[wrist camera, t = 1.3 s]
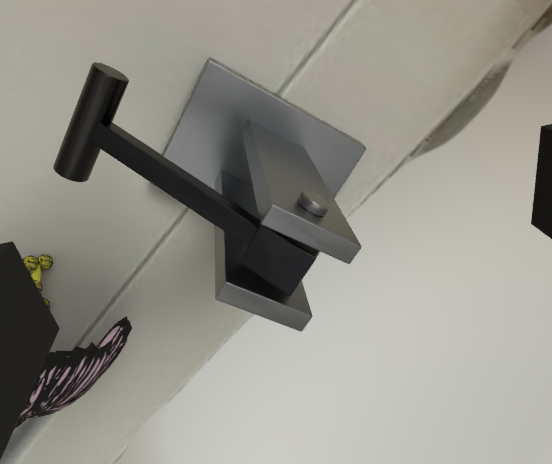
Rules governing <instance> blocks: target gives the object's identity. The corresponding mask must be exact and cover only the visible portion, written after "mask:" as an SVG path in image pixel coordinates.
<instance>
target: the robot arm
mask: <svg viewBox="0 0 552 464" xmlns="http://www.w3.org/2000/svg"><path fill="white" fill-rule="evenodd" d="M531 224H532V225H534V226H535V227H536V228H538V229H539V230H540V231H542V232H543V233H544V234H546V235H547V236H549V237H550V238H551V239H552V124H550V125H545V126H541V133H540V144H539V153H538V162H537V172H536V182H535V193H534V202H533V211H532V221H531ZM58 331H59V327H58V325H57V323H56V321H55V319H54V317H53V316H52V314H51V312H50V310H49V308H48V306H47V304H46V303H45V301H44V299H43V297H42V295H41V293H40V291H39V289H38V288H37V286H36V284H35V282H34V280H33V278H32V276H31V275H30V273H29V271H28V269H27V267H26V265H25V263H24V261H23V260H22V258H21V256H20V254H19V252H18V250H17V248H16V247H15V245H14V243H13V242H8V243H3V244H0V459H1V457H2V455H3V453H4V450H5V448H6V446H7V444H8V441H9V439H10V437H11V435H12V433H13V430H14V428H15V426H16V424H17V422H18V419H19V417H20V415H21V413H22V410H23V408H24V406H25V404H26V402H27V399H28V397H29V395H30V393H31V391H32V388H33V386H34V384H35V382H36V379H37V377H38V375H39V373H40V371H41V368H42V366H43V364H44V362H45V360H46V357H47V355H48V353H49V351H50V348H51V346H52V344H53V342H54V340H55V337H56V335H57V333H58Z"/></svg>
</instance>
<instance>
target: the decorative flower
mask: <svg viewBox="0 0 552 464" xmlns="http://www.w3.org/2000/svg"><path fill="white" fill-rule="evenodd" d="M23 261H24V263H25V265H26V267H27V269H28V271H32V273H31V276H32V278H33V280H34V282H35V284H36V286H37V288H38V289H39V291H40V292H41V290H42V285H41V283H40V279H41V271H40V269H41V270H46V269H48V268H49V267H51V266H52V264H53V263H52V258H51V257H50V256H48V255H41V256H40V257H38V259H37V258H36V257H34V256H28V257H26V258H24V259H23ZM43 299H44V298H43ZM44 301H45V303H46V304H47V306H48V308H50V302H49V301H48V300H46V299H44ZM131 329H132V327H131V324H130V322H129V320H127V317H125V319H124V318H123V319H121V320H120V321H118V322H117V323H116V324H115V325H114V326H113V327H112V328H111V329H110V330H109V332H108V333H107V334H106V335H105V336H104V338H103V339H102V340H101V341H100V342H99V343H98V344H97V345H96V346H95V345H94V344H93V343H91V344H90V345H89V347H88V348H86V349H84V348H80V347H76V348H75V349H74V351H56V352H55V353H54V352H51V353H48V355H47V357H46V360H45V362H44V364H43V366H42V368H41V371H40V373H39V375H38V377H37V379H36V382H35V384H34V386H33V388H32V391H31V393H30V395H29V397H28V399H27V402H26V404H25V406H24V408H23V410H22V413H21V415H20V417H19V419H18V422H17V424H16V426H15V428H17V427H18V426H19V425H20V424H21V423H23V422H24V421H25V420H26V418H32V417H33V418H35V417H41V416H44V415H49V414H52V413H54V412H57V411H59V410H61V409H63V408H64V407H66V406H68V405H70V404H72V403H73V402H75V401H76V400H77V399H79V398H80V397H81V396H83V395H84V394H85V393H86V392H87V391H88V390H89V389H90V388H91V387H92V386H93V385H94V383H95V382H96V381H97V379H98V378H99V377H100V376H101V375H102V374H103V373H104V372H105V371H106V370H107V369H108V368H109V367H110V366H111V364H112V363H113V361H114V360H115V359H116V357H117V356H118V355H119V353H120V351H121V350H122V348H123V347H124V345H125V343H126V341H127V337H128V335H129V333H130V331H131Z"/></svg>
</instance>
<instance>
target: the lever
mask: <svg viewBox="0 0 552 464" xmlns="http://www.w3.org/2000/svg"><path fill="white" fill-rule="evenodd" d="M128 83H129V79H128V78H127V77H126V76H125V75H123V74H122V73H121V72H119V71H117V70H115V69H113V68H111V67H109V66H107V65H104V64H101V63H93V64H92V66H91V68H90V71H89V74H88V76H87V79H86V82H85V84H84V87H83V90H82V92H81V95H80V97H79V100H78V103H77V105H76V108H75V111H74V113H73V116H72V118H71V121H70V124H69V126H68V129H67V132H66V134H65V137H64V140H63V142H62V145H61V147H60V150H59V153H58V155H57V158H56V161H55V163H54V170H55V171H56V172H57V173H58V174H59V175H60V176H62V177H64V178H66V179H69V180H72V181H76V182H85V181H87V180H88V179H89V176H90V174H91V171H92V169H93V167H94V164H95V162H96V159H97V157H98V155H99V152H100V150H101V149H102V150H103V151H105V152H106V153H108V154H109V155H111V156H112V157H114V158H115V159H117V160H118V161H120V162H121V163H123V164H124V165H126V166H127V167H129V168H130V169H132V170H133V171H135V172H136V173H138V174H139V175H141V176H142V177H144V178H145V179H147V180H148V181H150V182H151V183H153V184H154V185H156V186H157V187H159V188H160V189H162V190H163V191H165V192H166V193H168V194H169V195H171V196H172V197H174V198H175V199H177V200H178V201H180V202H181V203H183V204H184V205H186V206H187V207H189V208H190V209H192V210H193V211H195V212H196V213H198V214H199V215H201V216H202V217H204V218H205V219H207V220H208V221H210V222H211V223H213V224H214V225H216V226H217V227H219V228H220V229H222V230H223V231H225V232H226V233H228V234H229V235H231V236H232V237H234V238H235V239H237V240H238V241H240V242H241V243H243V244H244V245H246V246H247V248H246V249H245V251H244V253H243V254H242V256H241V258H240V259H239V263H241V264H242V265H244V266H245V267H247V268H248V269H250V270H251V271H253V272H254V273H256V274H257V275H259V276H260V277H262V278H263V279H265V280H266V281H268V282H269V283H271V284H272V285H274V286H275V287H277V288H278V289H280V290H281V291H283V292H284V293H286V294H287V295H289V296H291V295H292V294H293V292H294V291H295V289H296V288H297V286H298V285H299V283H300V282H301V280H302V279H303V277H304V276H305V274H306V273H307V271H308V270H309V268H310V267H311V265H312V264H313V263H314V261H315V260H316V258H317V256H318V254H319V252H320V251H319V250H316V249H314V248H312V247H310V246H308V245H305V244H303V243H301V242H299V241H297V240H294V239H292V238H290V237H288V236H285V235H283V234H281V233H279V232H277V231H274V230H272V229H270V228H268V227H266V226H263V225H261V224H260V220H259V219H258V218H256V217H255V216H253V215H252V214H250V213H249V212H247V211H246V210H244V209H243V208H241V207H240V206H238V205H237V204H235V203H234V202H232V201H231V200H229V199H227V198H226V197H224V196H223V195H221V194H220V193H218V192H217V191H215V190H214V189H212V188H211V187H209V186H208V185H206V184H205V183H203V182H202V181H200V180H199V179H197V178H196V177H194V176H193V175H191V174H190V173H188V172H187V171H185V170H184V169H182V168H181V167H179V166H177V165H176V164H174V163H173V162H171V161H170V160H168V159H167V158H165V157H164V156H162V155H161V154H159V153H158V152H156V151H155V150H153V149H152V148H150V147H149V146H147V145H146V144H144V143H143V142H141V141H140V140H138V139H137V138H135V137H134V136H132V135H131V134H129V133H127V132H126V131H124V130H123V129H121V128H120V127H118V126H117V125H115V124H114V123H112V121H113V119H114V116H115V114H116V111H117V109H118V107H119V104H120V102H121V99H122V97H123V95H124V92H125V90H126V87H127V85H128Z"/></svg>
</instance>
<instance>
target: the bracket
mask: <svg viewBox="0 0 552 464" xmlns="http://www.w3.org/2000/svg"><path fill="white" fill-rule="evenodd" d="M365 150H366V147H365V146H364V145H363V144H362V143H360V142H359V141H357V140H355V139H353V138H352V137H350V136H348V135H346V134H345V133H343V132H341V131H339V130H337V129H336V128H334V127H332V126H330V125H329V124H327V123H325V122H323V121H322V120H320V119H318V118H316V117H314V116H313V115H311V114H309V113H307V112H306V111H304V110H302V109H300V108H298V107H297V106H295V105H293V104H291V103H290V102H288V101H286V100H284V99H283V98H281V97H279V96H277V95H275V94H274V93H272V92H270V91H268V90H267V89H265V88H263V87H261V86H260V85H258V84H256V83H254V82H252V81H251V80H249V79H247V78H245V77H244V76H242V75H240V74H238V73H237V72H235V71H233V70H231V69H229V68H228V67H226V66H224V65H222V64H221V63H219V62H217V61H215V60H213V59H212V58H210V57H209V58H208V60H207V62H206V64H205V66H204V68H203V71H202V73H201V75H200V77H199V79H198V81H197V83H196V85H195V87H194V90H193V92H192V94H191V96H190V98H189V100H188V102H187V104H186V106H185V109H184V111H183V113H182V115H181V117H180V119H179V121H178V123H177V125H176V127H175V130H174V132H173V134H172V136H171V138H170V140H169V142H168V144H167V146H166V149H165V151H164V153H163V155H162V156H164V157H165V158H167V159H168V160H170V161H171V162H173V163H174V164H176V165H177V166H179V167H181V168H182V169H184V170H185V171H187V172H188V173H190V174H191V175H193V176H194V177H196V178H197V179H199V180H200V181H202V182H203V183H205V184H206V185H208V186H209V187H211V188H212V189H214V190H215V191H217V192H218V193H220V194H221V195H223V196H224V197H226V198H227V199H229V200H231V201H232V202H234V203H235V204H237V205H238V206H240V207H241V208H243V209H244V210H246V211H247V212H249V213H250V214H252V215H253V216H255V217H256V218H258V219H259V220H260V224H261V225H263V226H266V227H268V228H270V229H272V230H274V231H277V232H279V233H281V234H283V235H285V236H288V237H290V238H292V239H294V240H297V241H299V242H301V243H303V244H305V245H308V246H310V247H312V248H314V249H316V250H319V251H321V252H323V253H325V254H328V255H330V256H332V257H334V258H337V259H339V260H341V261H343V262H345V263H348V264H350V263H351V261H352V260H353V259H354V257H355V256H356V254H357V253H358V252H359V250H360V249H361V245H360V243H359V241H358V240H357V238H356V236H355V234H354V233H353V231H352V229H351V227H350V226H349V224H348V222H347V220H346V219H345V217H344V215H343V214H342V212H341V210H340V208H339V207H338V205H337V203H336V201H335V200H334V197H335V196H336V194H337V193H338V191H339V190H340V188H341V187H342V185H343V184H344V182H345V181H346V179H347V178H348V176H349V175H350V173H351V171H352V170H353V168H354V167H355V165H356V164H357V162H358V161H359V159H360V158H361V156H362V155H363V153H364V152H365ZM150 183H151V182H150ZM151 184H153V183H151ZM153 185H154V184H153ZM246 248H247V246H246V245H244V244H243V243H241V242H240V241H238V240H237V239H235V238H234V237H232V236H231V235H229V234H228V233H226V232H225V231H223V230H222V229H220V228H219V227H217V226H216V225H215V299H216V300H219V301H221V302H224V303H227V304H229V305H232V306H235V307H237V308H240V309H243V310H245V311H248V312H251V313H253V314H256V315H259V316H261V317H264V318H266V319H269V320H272V321H274V322H277V323H280V324H283V325H285V326H288V327H290V328H293V329H296V330H298V331H302V330H303V329H304V327H305V326H306V325H307V323H308V322H309V321H310V319H311V318H312V313H311V311H310V306H309V303H308V300H307V297H306V293H305V291H304V287H303V283H302V280H301V282H300V283H299V285H298V286H297V288H296V289H295V291H294V292H293V294H292V295H291V296H289V295H287V294H286V293H284V292H283V291H281V290H280V289H278V288H277V287H275V286H274V285H272V284H271V283H269V282H268V281H266V280H265V279H263V278H262V277H260V276H259V275H257V274H256V273H254V272H253V271H251V270H250V269H248V268H247V267H245V266H244V265H242V264H241V263H239V259H240V258H241V256H242V254H243V253H244V251H245V249H246Z"/></svg>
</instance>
